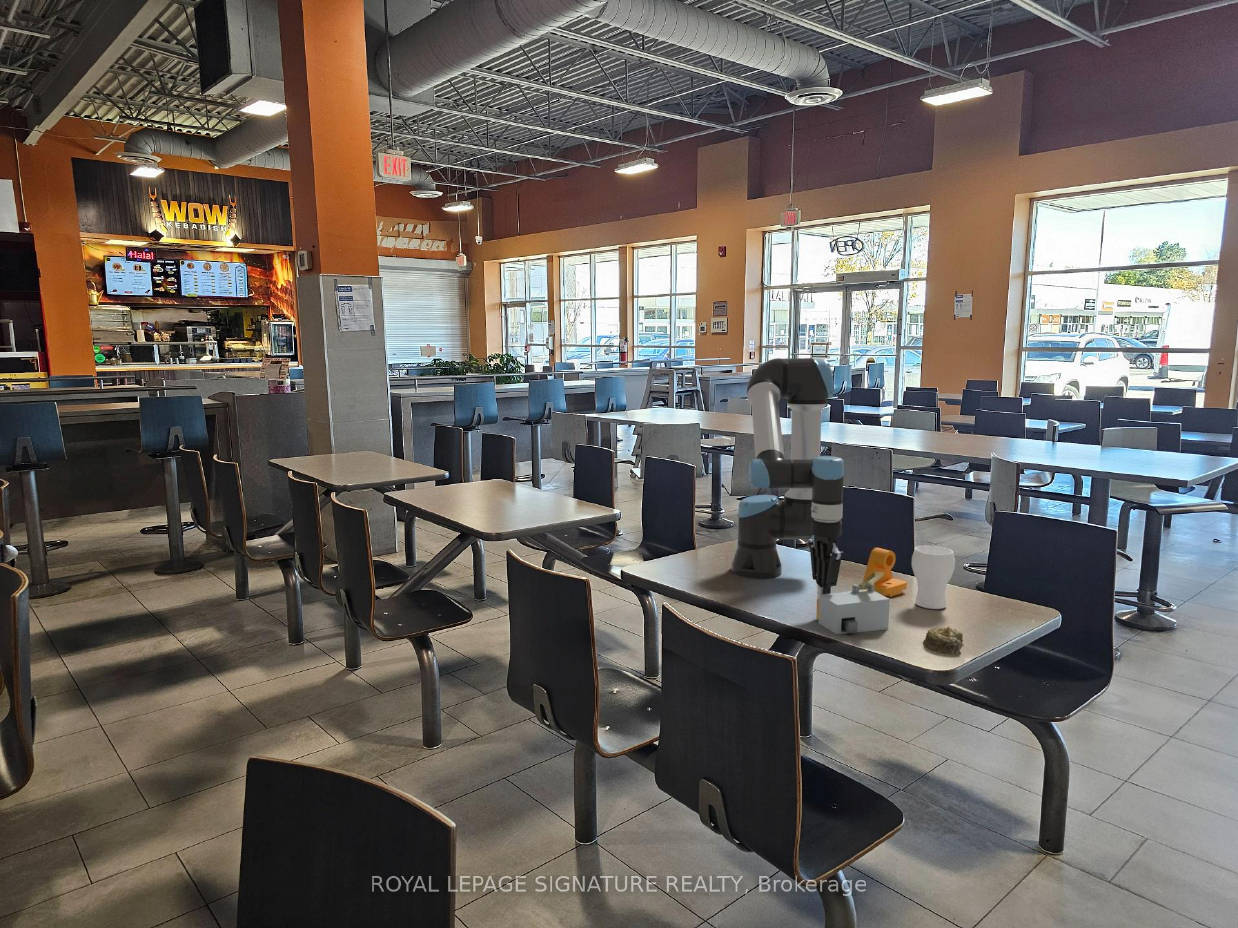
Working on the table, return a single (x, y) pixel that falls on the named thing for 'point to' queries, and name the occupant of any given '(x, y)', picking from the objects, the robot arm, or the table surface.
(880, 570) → the bracket
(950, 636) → the olive green round lump
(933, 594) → the cup
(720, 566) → the table surface
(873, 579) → the latch bar
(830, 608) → the block
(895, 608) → the table surface
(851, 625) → the pin
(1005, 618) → the table surface
